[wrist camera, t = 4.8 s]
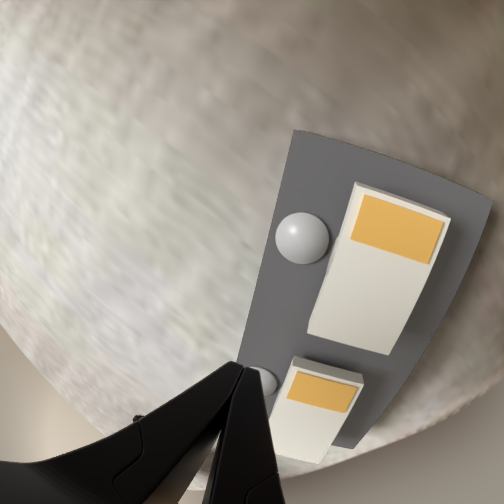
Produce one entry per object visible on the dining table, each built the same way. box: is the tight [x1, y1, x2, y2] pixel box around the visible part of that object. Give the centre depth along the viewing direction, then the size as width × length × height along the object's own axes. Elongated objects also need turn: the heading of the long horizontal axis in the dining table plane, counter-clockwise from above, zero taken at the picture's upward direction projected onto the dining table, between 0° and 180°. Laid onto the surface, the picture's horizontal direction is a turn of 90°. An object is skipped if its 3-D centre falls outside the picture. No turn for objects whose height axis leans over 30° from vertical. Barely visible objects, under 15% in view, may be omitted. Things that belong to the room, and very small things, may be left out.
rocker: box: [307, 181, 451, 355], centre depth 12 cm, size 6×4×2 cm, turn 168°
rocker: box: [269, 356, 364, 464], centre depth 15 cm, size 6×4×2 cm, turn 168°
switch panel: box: [236, 130, 493, 449], centre depth 16 cm, size 20×9×3 cm, turn 168°
